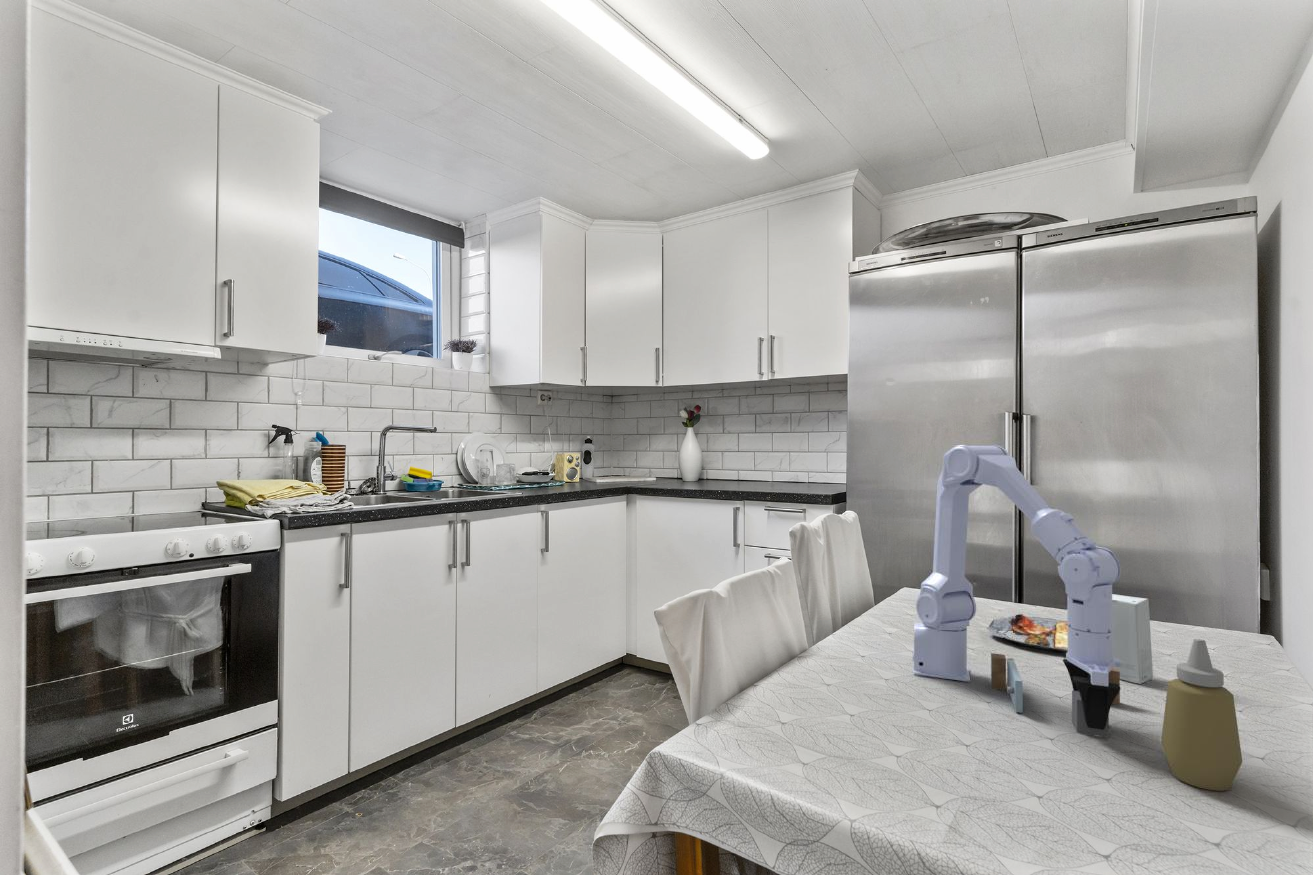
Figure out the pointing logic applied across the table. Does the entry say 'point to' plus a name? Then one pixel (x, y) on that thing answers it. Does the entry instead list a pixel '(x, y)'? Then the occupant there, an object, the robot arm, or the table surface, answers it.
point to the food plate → (1033, 631)
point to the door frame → (1000, 674)
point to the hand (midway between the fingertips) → (1090, 717)
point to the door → (1014, 685)
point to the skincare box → (1132, 638)
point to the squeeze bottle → (1201, 724)
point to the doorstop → (1079, 718)
